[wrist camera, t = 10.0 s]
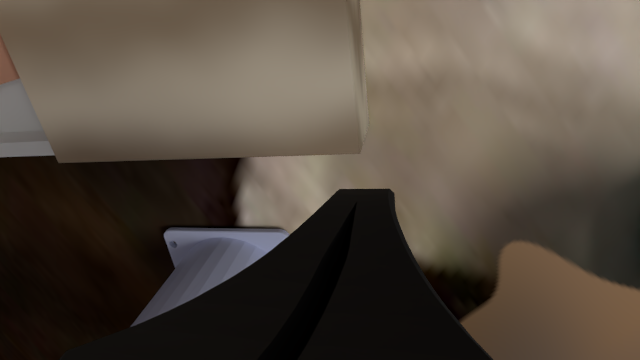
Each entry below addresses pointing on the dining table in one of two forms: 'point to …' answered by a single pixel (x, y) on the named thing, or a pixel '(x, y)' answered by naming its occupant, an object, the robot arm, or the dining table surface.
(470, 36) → the dining table surface
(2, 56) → the tile
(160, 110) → the low rectangular platform
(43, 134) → the box
